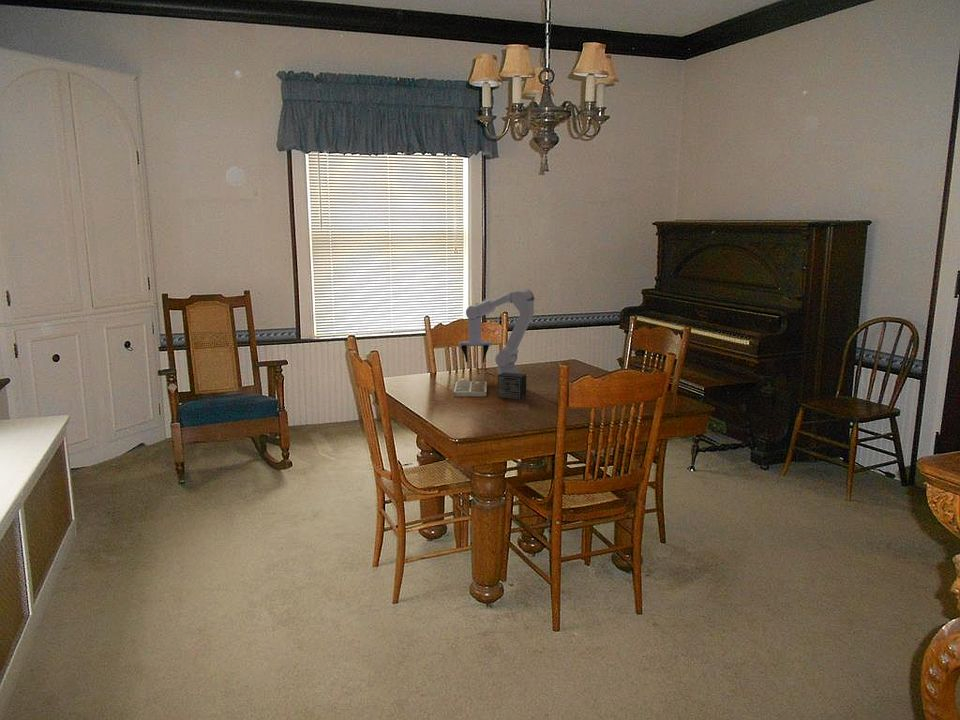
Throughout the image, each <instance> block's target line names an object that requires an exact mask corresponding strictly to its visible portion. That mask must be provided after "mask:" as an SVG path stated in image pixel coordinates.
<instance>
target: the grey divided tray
mask: <svg viewBox="0 0 960 720" xmlns="http://www.w3.org/2000/svg"><path fill="white" fill-rule="evenodd" d="M467 381H468V388H459V385H458V383H459V380H458V381H455V385H454V388H453V397H487V389H488V387H487V386H488V383H487V382H488V381H486V380H485V381H484V380H483V392H473V384H474V380H473V381H471V380H470V381H469V380H467Z"/></svg>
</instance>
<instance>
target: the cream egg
mask: <svg viewBox="0 0 960 720" xmlns="http://www.w3.org/2000/svg"><path fill="white" fill-rule="evenodd" d="M458 381H459V383H458V385H459V388H468V381H469V380H468V379H466V378H460V379H459V380H458Z"/></svg>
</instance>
